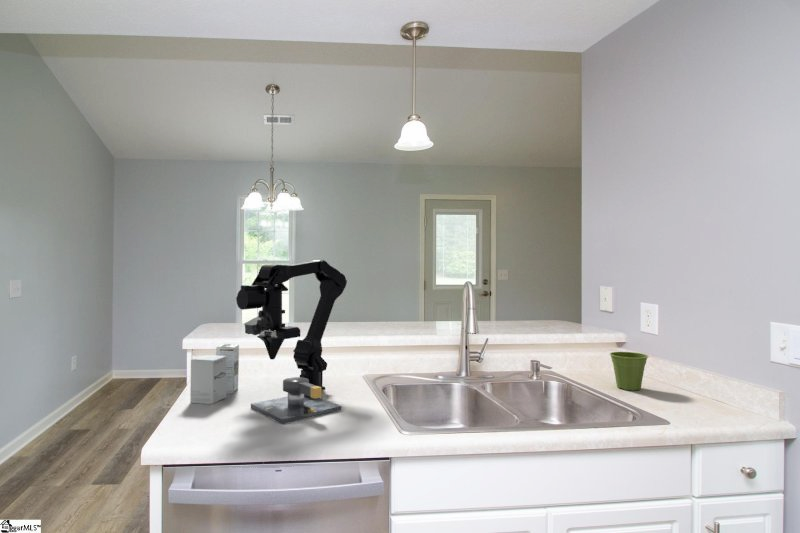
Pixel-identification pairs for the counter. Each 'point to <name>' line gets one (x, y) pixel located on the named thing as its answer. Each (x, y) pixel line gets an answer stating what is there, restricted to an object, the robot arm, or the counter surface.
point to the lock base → (294, 407)
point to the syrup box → (230, 365)
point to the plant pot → (628, 369)
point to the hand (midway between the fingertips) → (272, 359)
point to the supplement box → (208, 379)
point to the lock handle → (301, 387)
